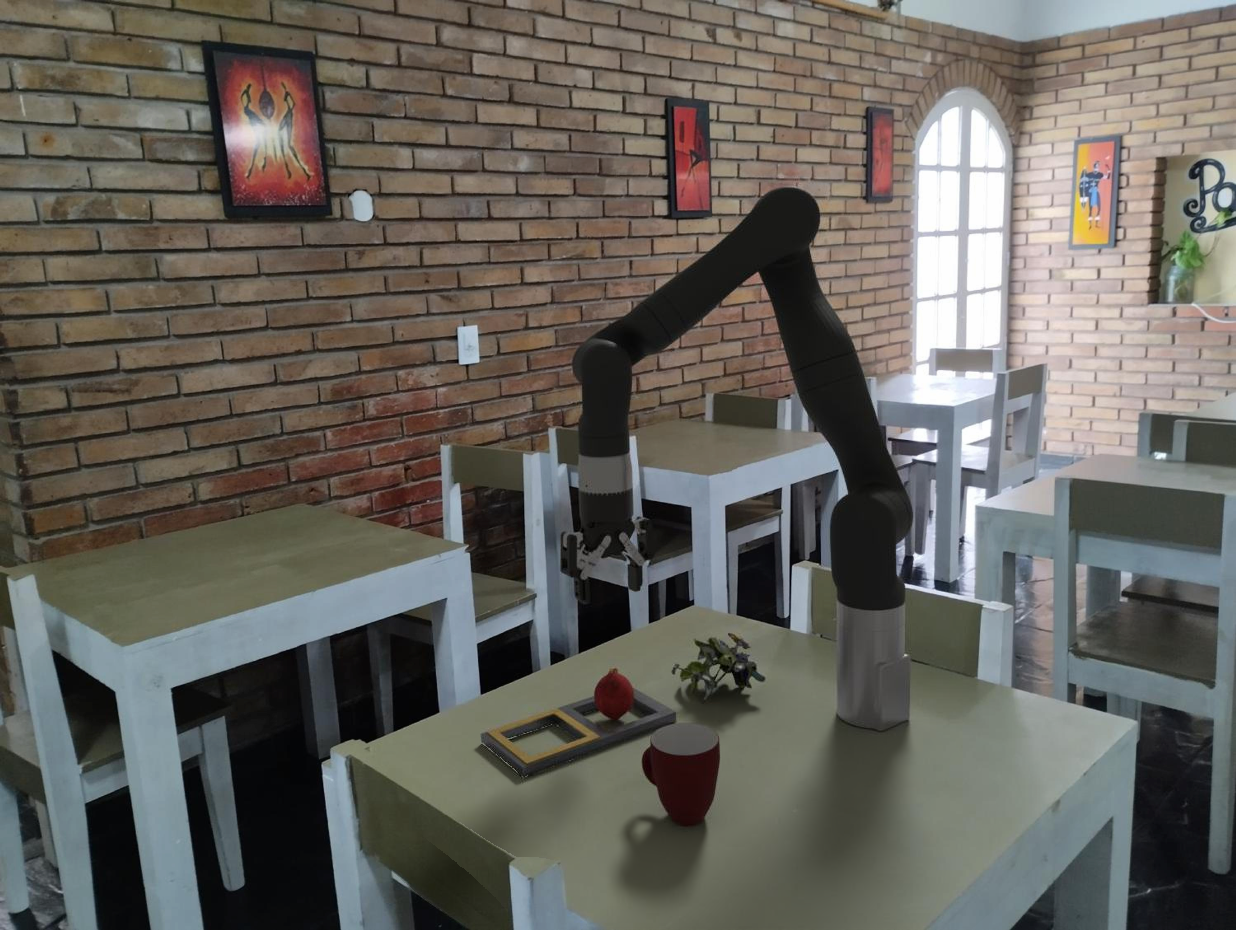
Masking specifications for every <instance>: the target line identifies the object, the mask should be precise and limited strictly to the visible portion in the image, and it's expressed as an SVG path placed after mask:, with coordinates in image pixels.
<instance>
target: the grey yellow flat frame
mask: <svg viewBox="0 0 1236 930" xmlns="http://www.w3.org/2000/svg"><path fill="white" fill-rule="evenodd" d="M633 690H634V702H633V705H632V707H633V708H635V709H637V710H639V711H640V712H642V713H643V714H645V715H646V716H644V717H641V718H638V719H635V720H633V721H630V722H627V723H625V724H622V725H619V726H616V727H613V728H611V729H608V730H605V728H602V727H601V726H600V725H598V724H596V723H595V722H593V721H592V720H590V719H588V718H587V716H584V715H585V713H586V714H588V712H589V713H591V712H590V711H592V712H594V710H595V711H598V710H597V709H598V708H597V707H596V704H595V700H594V695H593V696H590V697H587V698H584V699H580V700H578V701H575V702H572V703H569V704H566V705H563V706H560V707H555V708H553V709H550V710H547V711H544V712H542V713H538V714H535V715H532V716H529V717H526V718H524V719H520V720H517V721H514V722H511V723H508V724H505V725H503V726H499V727H497V728H493V729H490V730H487V731H485V732H482V733H480V741H481V742H482V743H484V744H485V745H486V746H487V747H488V748H490V749H491V750H492V751H493V752H494V753H495V754H497V755H498V756H499V757H501V758H502V759H503V760H504V761H505V762H507V763H508V764H509V765H510V766H512V768H514V769H515V770H516V771H517V772H518V773H519V774H520V775H522V776H523V777H525V776H527V775H531V774H534V773H536V774H538V773H537V772H539V773H541V772H540V771H542V772H544V771H546V770H545V769H547V770H549V769H548V768H550V767H553V766H555V767H557V766H556V765H558V766H560V765H559V764H561V763H563V764H565V763H564V762H566V761H569V760H571V761H573V760H572V759H574V760H576V759H575V758H577V757H579V758H581V757H580V756H582V757H584V756H583V755H585V756H587V755H589V754H588V753H590V754H592V753H591V752H593V753H595V752H594V751H596V752H597V750H598V751H600V750H599V749H601V750H603V749H602V748H604V747H606V748H608V747H607V746H609V747H611V746H610V745H612V746H614V745H616V743H617V744H619V743H623V742H624V740H625V741H627V740H630V739H633V738H635V737H638V736H641V735H643V734H646V733H649V732H651V731H654V730H655V731H656V730H658V729H660V728H662V727H664V726H667V725H671V724H674V723H676V722H677V711H676V710H675V709H672V708H670V707H669V706H667V705H666V704H663V703H661V702H659V701H657V700H656V699H654V698H652V697H650V696H649V695H647V694H645V693H643V692H642V691H640V690H638V689H636V688H635V687H633ZM582 714H583V715H582ZM551 724H554V725H555V724H556V725H555V726H557V725H558V726H559V727H558V726H557V727H558V728H560V729H561V728H562V729H563V731H564V730H565V731H567V732H568V733H569V734H568V733H567V732H566V733H567V734H568V735H570V736H571V735H572V736H571V737H573V736H574V737H573V739H574V738H576V739H575V740H574V741H573V740H572V741H571V742H568V743H565V744H563V745H559V746H558V747H555V748H551V749H549V750H546V751H542V752H540V753H538V754H534V755H532V756H530V755H529V754H528V753H526V752H525V751H524V750H522V749H521V748H520V747H518V746H517V745H516V744H515V743H513V742H512V741H510V740H508V739H507V738H511V737H514V736H519V735H521V734H523V733H527V732H530V731H534V730H536V729H540V730H542V729H543V728H542V727H545V726H548V727H550V726H549V725H551ZM551 726H552V725H551ZM541 728H542V729H541ZM545 728H546V727H545ZM562 729H561V730H562ZM565 731H564V732H565ZM534 732H535V731H534ZM519 737H520V736H519ZM577 739H578V740H577ZM613 744H614V745H613ZM604 749H605V748H604ZM495 754H494V755H495ZM586 754H587V755H586ZM577 759H578V758H577ZM569 762H570V761H569ZM566 763H567V762H566ZM561 765H562V764H561ZM553 768H554V767H553ZM550 769H551V768H550ZM543 770H544V771H543ZM518 773H517V774H518ZM519 774H518V775H519ZM520 775H519V776H520ZM534 775H535V774H534ZM531 776H532V775H531Z"/></svg>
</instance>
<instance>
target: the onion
mask: <svg viewBox="0 0 1236 930" xmlns="http://www.w3.org/2000/svg"><path fill="white" fill-rule="evenodd" d="M618 671H619V668H617V667H615V666H613V667H610V668H609V671H608V672H607V674H606V675H604V676H603V677H601V679H600V680H599V681H598V683H596V686H595V689H594V691H593V696H594V700H595V704H596V707H597V708H598V710H597V711H599V712H600V713H601V714H602V715H603V716H604V717H606V718H608V719H611V720H612V721H619V720H620V719H621V718H622V717H624V716H625V715H626V714H627V713H628V712H629V711H631V709H632V707H633V706H632V705H633V702H634V690H633V688H634V687H633V685H632V683H631V681H630V680H629V679H628V678H627V677H626V676H624V675H623V674H621V673H619V672H618Z"/></svg>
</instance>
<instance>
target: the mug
mask: <svg viewBox="0 0 1236 930" xmlns="http://www.w3.org/2000/svg"><path fill="white" fill-rule="evenodd" d="M720 746H721V744H720V736H719V734H718V733H717V732H716V731H715V730H714V729H712V728H711V727H709V726H706V725H702V724H700V723H699V724H698V723H694V722H693V723H692V722H680V723H671V724H668V725H665V726H663V727H660V728H657V729H655V731H654V732H653V733H652V735H651V736H650V745H649V746H648V747H647V748H646V749H645V750H644V752H643V753H642V757H641V768H642V772H643V774H644V776H645V778H646V779H647V780H648V781H649V782H650V783H651V784H652V785H653V786H655V787H656V789H657V794H658V798H659V801H660V804H661V805H662V807H663V808H664V810H665V812H666V814H667V815H668V816H669V818H670V819H671V821H672V822H674V823H675V824H677V825H679V826H680V825H681V826H694V825H698V824H699V823H702V821H703V820H704V819H705V817H706V815H707V814H708V812H709V811H710V808H711V806H712V805H713V802H714V798H715V795H716V790H717V789H716V788H717V782H718V777H719V776H718V775H719V770H720V764H721V763H720V762H721V747H720Z"/></svg>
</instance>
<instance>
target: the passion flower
mask: <svg viewBox="0 0 1236 930" xmlns="http://www.w3.org/2000/svg"><path fill="white" fill-rule="evenodd" d="M727 636H728V637H729V638H730V639H732V641H733V642H734V643H736V644H735V646H733V647H729V644H726V642H725V641H723V640H721V639H718V638H717V637H716V636H715V637H713V636H710V637H709V638H708V639H706V642H707V643H705V642H704V641H700V640H699V639H697V637H695V638H694V639H693V640H694V645H696V646H697V647H698V648H699V652H698V656H697V659H696V660H695V661H690V663H688V665H687V666H686V667H685V668H682V667H680V663H675V664H674V666H673V667H672V669H671V674H672V675H673V676H674V675H675V674H676V671H677V669H678V670H681V671H680V673H679V678H680V680H681V682H684V681H686V680H689V679H690V682H691V683H692V684H691V685H690V693H691V695H693V693H694V691H695V687H696V686H697V684H698V683H699V682H700V681H703V682H704V690H705V691H704V692H705V694H704V699H703V700H702V702H701V703H702V704H704V703H705V701H707V699H708V696H709V695H710V694H711V693H712V692H713V691H714V690H715V689H716V688H717V687H718V683H719V682H721V680H722V679H723V678H724V677H725V676H726V674H731V675H732V676H733V680H734V683H735V685H736V686H737V687H739V688H740V689H743V688H747V689H752V688H753V686H752V684H751V682H750V679H751V678H754V679H755V680H756V681H758V682H761V683H763V682H765V681H766V676H764V675H763V674H761V673H759V672H758V667H757V663H756V662H755V661H751V660H750V659H748V657H750V656H751V655H750V654H747V653H745V652H743V651H741V652H738V649H739V648H740V647H742V649H744V650H747V649H751V648H752V647H751V646H750V645H749V643H748V642H746V641H745V640H744V639H743V637H740V636H738V635H737V634H736V633H731V632H728V633H727ZM702 659H705V660H704V661H703V662H701V661H700V660H702ZM717 665H719V669H718V671H717V672H716V673H715V674H714V676H712V675H711V674H710V673H711V672H710V669H711V668H712V667H714V666H717ZM720 671H722V672H723V674H722V675H721V676H720V677H719V678H718V679H717V677H718V676H719V673H720ZM704 676H705V677H708V678H709V679H706V678H704ZM716 679H717V680H716Z"/></svg>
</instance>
